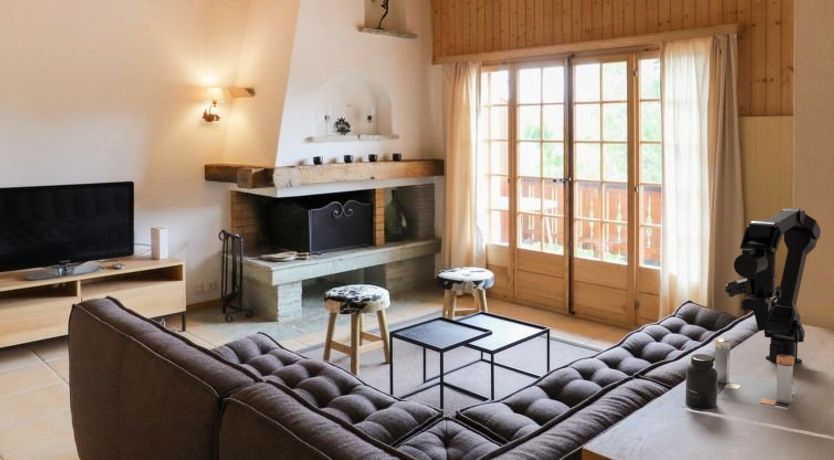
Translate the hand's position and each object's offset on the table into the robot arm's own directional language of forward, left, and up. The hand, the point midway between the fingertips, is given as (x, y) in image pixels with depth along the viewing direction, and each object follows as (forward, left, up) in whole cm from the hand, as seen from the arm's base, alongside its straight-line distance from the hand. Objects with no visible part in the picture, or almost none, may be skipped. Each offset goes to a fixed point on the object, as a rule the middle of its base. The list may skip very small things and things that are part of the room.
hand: (760, 330), depth 181 cm
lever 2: (+9, +17, -11) cm, 23 cm away
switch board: (+10, +9, -12) cm, 18 cm away
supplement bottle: (+27, +10, -12) cm, 31 cm away
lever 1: (+13, +1, -11) cm, 17 cm away
